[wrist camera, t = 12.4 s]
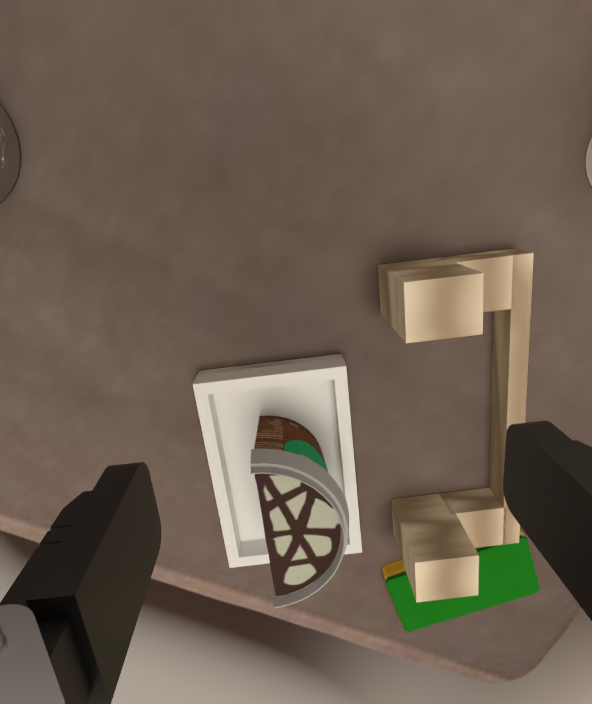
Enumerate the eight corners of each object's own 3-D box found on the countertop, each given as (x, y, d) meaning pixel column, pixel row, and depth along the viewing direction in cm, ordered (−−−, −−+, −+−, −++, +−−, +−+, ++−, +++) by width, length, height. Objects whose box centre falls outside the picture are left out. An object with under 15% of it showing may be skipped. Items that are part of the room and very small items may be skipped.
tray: (232, 544, 44) (229, 567, 42) (199, 370, 39) (192, 384, 36) (356, 529, 44) (362, 552, 41) (341, 353, 39) (346, 366, 36)
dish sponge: (528, 573, 47) (541, 592, 45) (399, 613, 48) (406, 634, 46) (514, 520, 45) (526, 537, 43) (380, 563, 46) (385, 582, 44)
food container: (342, 513, 42) (360, 604, 33) (276, 521, 43) (274, 614, 33) (329, 390, 39) (345, 454, 29) (256, 400, 39) (249, 465, 29)
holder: (393, 533, 45) (416, 602, 37) (378, 264, 36) (403, 282, 29) (503, 520, 45) (549, 586, 37) (513, 248, 36) (575, 261, 29)
